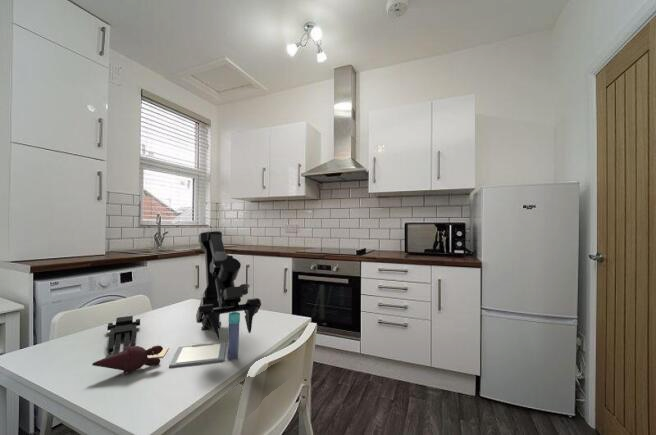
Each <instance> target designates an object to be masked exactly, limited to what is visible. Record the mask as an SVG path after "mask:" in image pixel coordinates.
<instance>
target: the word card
mask: <svg viewBox="0 0 656 435" xmlns="http://www.w3.org/2000/svg"><path fill="white" fill-rule="evenodd" d="M168 350H169V347H163V350H162V351H161V352H160V353H159V354H156V355H153V356H152V355H148V356H147V357H148V358H159V359H161V358H164V357H165V355H166V354H167V353H168Z"/></svg>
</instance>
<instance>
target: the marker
mask: <svg viewBox="0 0 656 435" xmlns="http://www.w3.org/2000/svg"><path fill="white" fill-rule="evenodd" d="M240 321H241V313H240V311H237V312H230V313H228V331H227V332H228V335H227V357H226V358H227V360H228V361H235V360H238V358H239V339H240Z"/></svg>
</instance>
